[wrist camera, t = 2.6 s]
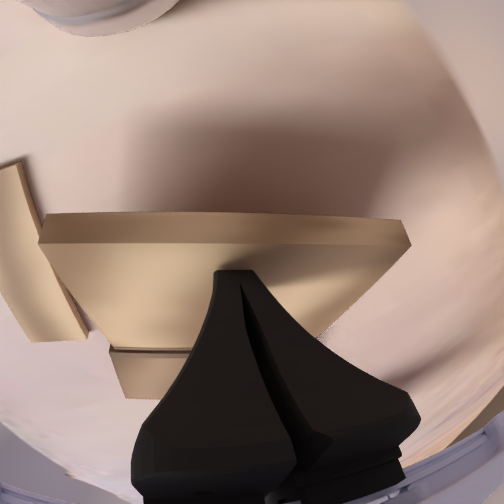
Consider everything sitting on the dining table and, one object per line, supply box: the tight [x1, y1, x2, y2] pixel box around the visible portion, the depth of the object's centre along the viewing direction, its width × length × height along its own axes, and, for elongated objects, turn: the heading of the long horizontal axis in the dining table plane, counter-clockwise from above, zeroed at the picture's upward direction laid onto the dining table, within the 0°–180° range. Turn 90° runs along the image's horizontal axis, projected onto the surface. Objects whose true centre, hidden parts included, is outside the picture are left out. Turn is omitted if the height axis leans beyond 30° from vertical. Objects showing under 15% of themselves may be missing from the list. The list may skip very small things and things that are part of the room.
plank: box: [0, 161, 89, 342], centre depth 15 cm, size 5×12×1 cm, turn 3°
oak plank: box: [38, 212, 411, 350], centre depth 15 cm, size 13×12×1 cm
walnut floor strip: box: [109, 344, 191, 400], centre depth 22 cm, size 14×6×1 cm, turn 84°
